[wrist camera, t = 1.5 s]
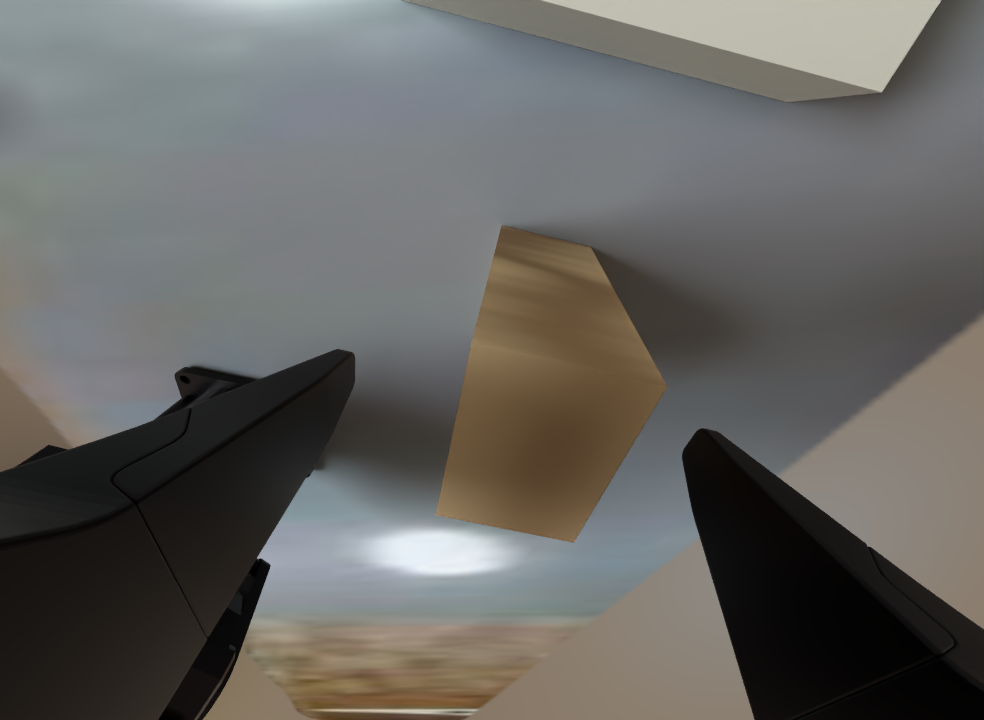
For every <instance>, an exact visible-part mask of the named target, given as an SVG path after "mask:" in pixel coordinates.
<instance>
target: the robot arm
mask: <svg viewBox="0 0 984 720" xmlns="http://www.w3.org/2000/svg"><path fill="white" fill-rule="evenodd" d="M175 379H176V382H177V385H178V388H179V391H180V394H181V397H182V399H180V400H179V401H178V402H176V403H175V404H174V405H173V406H171V407H170V408H169V409H167V410H166V411H165V412H164V413H162V414H161V415H160V416H158V417H157V418H156V419H155V420H153V421H151V422H148V423H145V424H143V425H140V426H137V427H135V428H132V429H129V430H126V431H123V432H120V433H117V434H114V435H111V436H108V437H106V438H103V439H100V440H97V441H94V442H91V443H88V444H84V445H81V446H78V447H75V448H72V449H69V450H67V449H63V448H59V447H55V446H51V445H48V446H46V447H45V448H43V449H41V450H39V451H38V452H37V453H35V454H33V455H32V456H30V457H29V458H27V459H26V460H24V461H23V462H21V463H20V464H18V465H17V466H15V467H14V468H11V469H9V470H5V471H3V472H0V720H202V719H203V718H204V717H205V716H206V714H207V713H208V712H209V710H210V709H211V708H212V706H213V704H214V703H215V701H216V700H217V698H218V697H219V695H220V694H221V692H222V690H223V688H224V687H225V685H226V683H227V681H228V679H229V677H230V675H231V673H232V671H233V667H234V665H235V663H236V661H237V658H238V655H239V653H240V650H241V647H242V644H243V642H244V639H245V636H246V633H247V630H248V628H249V625H250V622H251V619H252V616H253V614H254V611H255V608H256V605H257V603H258V600H259V597H260V594H261V591H262V589H263V586H264V583H265V580H266V577H267V575H268V572H269V569H270V564H269V563H267V562H266V561H264V560H263V559H257V557H258V555H259V554H260V552H261V550H262V549H263V547H264V545H265V544H266V542H267V540H268V539H269V537H270V536H271V534H272V532H273V531H274V529H275V527H276V526H277V524H278V523H279V521H280V519H281V518H282V516H283V514H284V513H285V511H286V509H287V508H288V506H289V505H290V503H291V501H292V500H293V498H294V496H295V495H296V493H297V491H298V490H299V488H300V487H301V485H302V483H303V482H304V480H305V478H307V477H309V476H310V475H311V473H312V471H313V465H314V464H315V462H316V460H317V459H318V457H319V456H320V454H321V452H322V451H323V449H324V447H325V446H326V444H327V442H328V440H329V439H330V437H331V435H332V433H333V431H334V429H335V426H336V424H337V422H338V420H339V418H340V415H341V413H342V411H343V409H344V407H345V404H346V402H347V400H348V398H349V396H350V393H351V391H352V389H353V386H354V383H355V355H354V353H353V352H350V351H345V350H341V349H336V350H333V351H331V352H328V353H325V354H323V355H320V356H318V357H315V358H313V359H310V360H308V361H305V362H302V363H300V364H297V365H295V366H292V367H290V368H287V369H285V370H282V371H280V372H277V373H274V374H272V375H269V376H267V377H264V378H262V379H259V380H257V381H250V380H246V379H241V378H236V377H232V376H227V375H222V374H218V373H213V372H208V371H203V370H199V369H194V368H189V367H184V368H182V369H181V370H179V371H178V372H176V373H175ZM682 461H683V466H684V471H685V476H686V482H687V487H688V492H689V497H690V503H691V507H692V512H693V516H694V519H695V523H696V526H697V530H698V533H699V536H700V540H701V543H702V546H703V550H704V553H705V556H706V560H707V563H708V566H709V569H710V573H711V576H712V580H713V583H714V586H715V590H716V593H717V596H718V599H719V603H720V606H721V609H722V613H723V616H724V619H725V623H726V626H727V629H728V633H729V636H730V639H731V643H732V646H733V649H734V653H735V656H736V659H737V663H738V666H739V669H740V673H741V676H742V679H743V683H744V686H745V689H746V693H747V696H748V699H749V703H750V706H751V709H752V713H753V716H754V719H755V720H984V629H983V628H981V627H980V626H978V625H977V624H975V623H974V622H973V621H971V620H970V619H968V618H967V617H966V616H964V615H963V614H961V613H960V612H958V611H957V610H956V609H954V608H953V607H951V606H950V605H948V604H947V603H946V602H944V601H943V600H942V599H940V598H939V597H937V596H936V595H935V594H933V593H932V592H931V591H929V590H927V589H926V588H925V587H923V586H922V585H921V584H919V583H918V582H917V581H915V580H914V579H913V578H911V577H910V576H908V575H907V574H906V573H904V572H903V571H902V570H900V569H899V568H898V567H896V566H895V565H894V564H892V563H891V562H890V561H888V560H887V559H886V558H884V557H883V556H882V555H880V554H879V553H878V552H876V551H875V550H874V549H872V548H871V547H867V545H866V543H864V542H863V541H862V540H860V539H859V538H858V537H857V536H855V535H854V534H852V533H851V532H850V531H848V530H847V529H846V528H845V527H843V526H842V525H841V524H839V523H838V522H837V521H835V520H834V519H833V518H831V517H830V516H829V515H827V514H826V513H825V512H823V511H822V510H821V509H819V508H818V507H817V506H815V505H814V504H813V503H812V502H810V501H809V500H808V499H806V498H805V497H803V496H802V495H801V494H800V493H798V492H797V491H796V490H794V489H793V488H792V487H790V486H789V485H788V484H786V483H785V482H784V481H782V480H781V479H780V478H778V477H777V476H776V475H774V474H773V473H772V472H770V471H769V470H768V469H767V468H765V467H764V466H763V465H761V464H760V463H759V462H757V461H756V460H755V459H753V458H752V457H751V456H749V455H748V454H747V453H745V452H744V451H743V450H741V449H740V448H739V447H737V446H736V445H735V444H733V443H732V442H731V441H729V440H728V439H727V438H725V437H724V436H723V435H722V434H720V433H719V432H717V431H713V430H709V429H704V428H702V429H699V430H697V431H696V433H695V434H694V435H693V437H692V438H691V440H690V441H689V442H688V444H687V445H686V447H685V448H684V450H683V453H682Z"/></svg>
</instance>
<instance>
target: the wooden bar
mask: <svg viewBox="0 0 984 720" xmlns="http://www.w3.org/2000/svg"><path fill="white" fill-rule="evenodd" d="M666 388H667V385H666V383H665V381H664V379H663V378H662V376H661V374H660V372H659V370H658V369H657V367H656V365H655V363H654V361H653V359H652V358H651V356H650V354H649V352H648V350H647V349H646V347H645V345H644V343H643V341H642V340H641V338H640V336H639V334H638V332H637V330H636V329H635V327H634V325H633V323H632V321H631V320H630V318H629V316H628V314H627V312H626V310H625V309H624V307H623V305H622V303H621V301H620V300H619V298H618V296H617V294H616V292H615V290H614V289H613V287H612V285H611V283H610V281H609V280H608V278H607V276H606V274H605V272H604V270H603V269H602V267H601V265H600V263H599V261H598V260H597V258H596V256H595V254H594V252H593V251H592V249H591V247H589V246H585V245H581V244H577V243H572V242H568V241H564V240H560V239H556V238H552V237H547V236H543V235H539V234H535V233H531V232H527V231H522V230H518V229H514V228H510V227H506V226H501V230H500V234H499V238H498V242H497V246H496V250H495V254H494V257H493V261H492V265H491V269H490V273H489V277H488V281H487V285H486V289H485V292H484V296H483V300H482V304H481V308H480V312H479V316H478V320H477V324H476V328H475V331H474V335H473V339H472V343H471V348H470V353H469V358H468V362H467V367H466V372H465V377H464V382H463V386H462V391H461V396H460V401H459V405H458V410H457V415H456V420H455V425H454V429H453V434H452V439H451V444H450V449H449V453H448V458H447V463H446V468H445V472H444V477H443V482H442V487H441V492H440V496H439V501H438V506H437V511H436V515H438V516H443V517H448V518H453V519H458V520H463V521H468V522H473V523H478V524H483V525H488V526H493V527H498V528H503V529H508V530H513V531H518V532H523V533H528V534H533V535H538V536H543V537H548V538H553V539H558V540H563V541H568V542H573V543H574V541H575V539H576V538H577V536H578V535H579V533H580V531H581V530H582V528H583V526H584V525H585V523H586V521H587V520H588V518H589V516H590V515H591V513H592V511H593V510H594V508H595V506H596V505H597V503H598V501H599V500H600V498H601V496H602V495H603V493H604V491H605V490H606V488H607V486H608V485H609V483H610V481H611V480H612V478H613V476H614V475H615V473H616V471H617V470H618V468H619V466H620V465H621V463H622V461H623V460H624V458H625V456H626V455H627V453H628V451H629V450H630V448H631V446H632V445H633V443H634V441H635V440H636V438H637V436H638V435H639V433H640V431H641V430H642V428H643V426H644V425H645V423H646V421H647V420H648V418H649V416H650V415H651V413H652V411H653V410H654V408H655V406H656V405H657V403H658V401H659V400H660V398H661V396H662V395H663V393H664V391H665V390H666Z"/></svg>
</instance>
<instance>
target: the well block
mask: <svg viewBox="0 0 984 720" xmlns="http://www.w3.org/2000/svg"><path fill="white" fill-rule="evenodd" d="M403 1H407V2H411V3H415V4H418V5H422V6H426V7H430V8H434V9H437V10H441V11H445V12H449V13H452V14H456V15H460V16H464V17H467V18H471V19H475V20H479V21H483V22H486V23H490V24H494V25H498V26H501V27H505V28H509V29H513V30H516V31H520V32H524V33H528V34H532V35H535V36H539V37H543V38H547V39H550V40H554V41H558V42H562V43H565V44H569V45H573V46H577V47H581V48H584V49H588V50H592V51H596V52H599V53H603V54H607V55H611V56H614V57H618V58H622V59H626V60H629V61H633V62H637V63H641V64H645V65H648V66H652V67H656V68H660V69H663V70H667V71H671V72H675V73H678V74H682V75H686V76H690V77H694V78H697V79H701V80H705V81H709V82H712V83H716V84H720V85H724V86H727V87H731V88H735V89H739V90H743V91H746V92H750V93H754V94H758V95H761V96H765V97H769V98H773V99H776V100H780V101H784V102H796V101H805V100H815V99H824V98H833V97H843V96H852V95H862V94H871V93H880V92H882V91H883V90H884V88H885V87H886V85H887V83H888V82H889V80H890V79H891V77H892V76H893V74H894V73H895V71H896V70H897V68H898V66H899V65H900V63H901V62H902V60H903V59H904V57H905V56H906V54H907V53H908V51H909V49H910V48H911V46H912V45H913V43H914V42H915V40H916V39H917V37H918V36H919V34H920V32H921V31H922V29H923V28H924V26H925V25H926V23H927V22H928V20H929V19H930V17H931V15H932V14H933V12H934V11H935V9H936V8H937V6H938V5H939V3H940V2H941V0H403Z"/></svg>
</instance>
